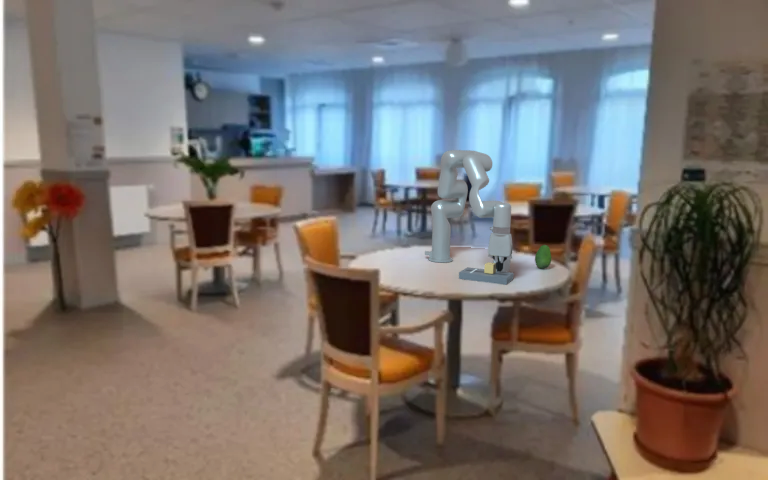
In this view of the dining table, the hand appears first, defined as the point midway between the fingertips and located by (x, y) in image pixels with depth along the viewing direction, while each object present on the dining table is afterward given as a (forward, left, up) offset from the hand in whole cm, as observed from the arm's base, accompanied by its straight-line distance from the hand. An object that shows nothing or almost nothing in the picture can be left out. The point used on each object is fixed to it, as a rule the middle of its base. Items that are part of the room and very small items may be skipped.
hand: (499, 270), depth 262 cm
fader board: (-6, 0, -4) cm, 7 cm away
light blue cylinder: (-5, +22, -5) cm, 23 cm away
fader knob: (-4, 0, -1) cm, 4 cm away
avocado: (+12, +36, -5) cm, 38 cm away
